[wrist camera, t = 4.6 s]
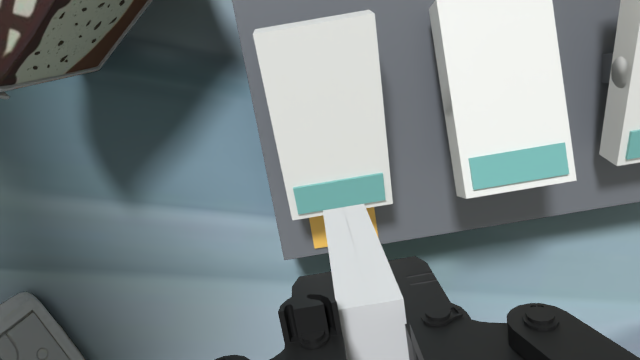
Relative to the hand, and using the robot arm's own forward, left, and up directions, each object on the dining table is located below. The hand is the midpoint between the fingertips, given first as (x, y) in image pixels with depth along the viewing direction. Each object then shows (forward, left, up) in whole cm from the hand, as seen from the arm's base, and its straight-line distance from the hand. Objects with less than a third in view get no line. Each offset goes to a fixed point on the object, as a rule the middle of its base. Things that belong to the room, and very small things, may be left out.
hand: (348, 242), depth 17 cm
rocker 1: (-3, 0, -8) cm, 9 cm away
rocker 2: (-3, +9, -8) cm, 13 cm away
